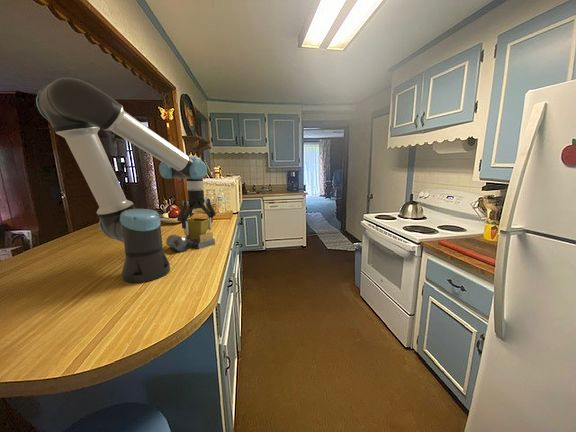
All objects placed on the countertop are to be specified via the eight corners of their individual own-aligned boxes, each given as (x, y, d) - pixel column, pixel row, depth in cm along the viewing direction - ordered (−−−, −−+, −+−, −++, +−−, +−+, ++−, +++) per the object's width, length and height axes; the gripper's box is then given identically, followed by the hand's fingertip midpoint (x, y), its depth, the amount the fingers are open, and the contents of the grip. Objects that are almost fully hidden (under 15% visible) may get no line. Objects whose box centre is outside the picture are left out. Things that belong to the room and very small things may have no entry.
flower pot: (193, 234, 124) (193, 217, 123) (209, 235, 123) (209, 219, 122) (184, 238, 115) (184, 220, 114) (200, 239, 114) (201, 221, 113)
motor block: (215, 244, 119) (214, 232, 118) (179, 254, 105) (177, 240, 104) (200, 239, 128) (199, 227, 127) (165, 248, 114) (163, 235, 113)
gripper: (212, 187, 126) (215, 226, 131) (166, 190, 108) (171, 235, 112) (221, 188, 122) (223, 228, 126) (174, 191, 103) (178, 238, 107)
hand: (198, 232), depth 119 cm, fingers open, 12 cm apart
